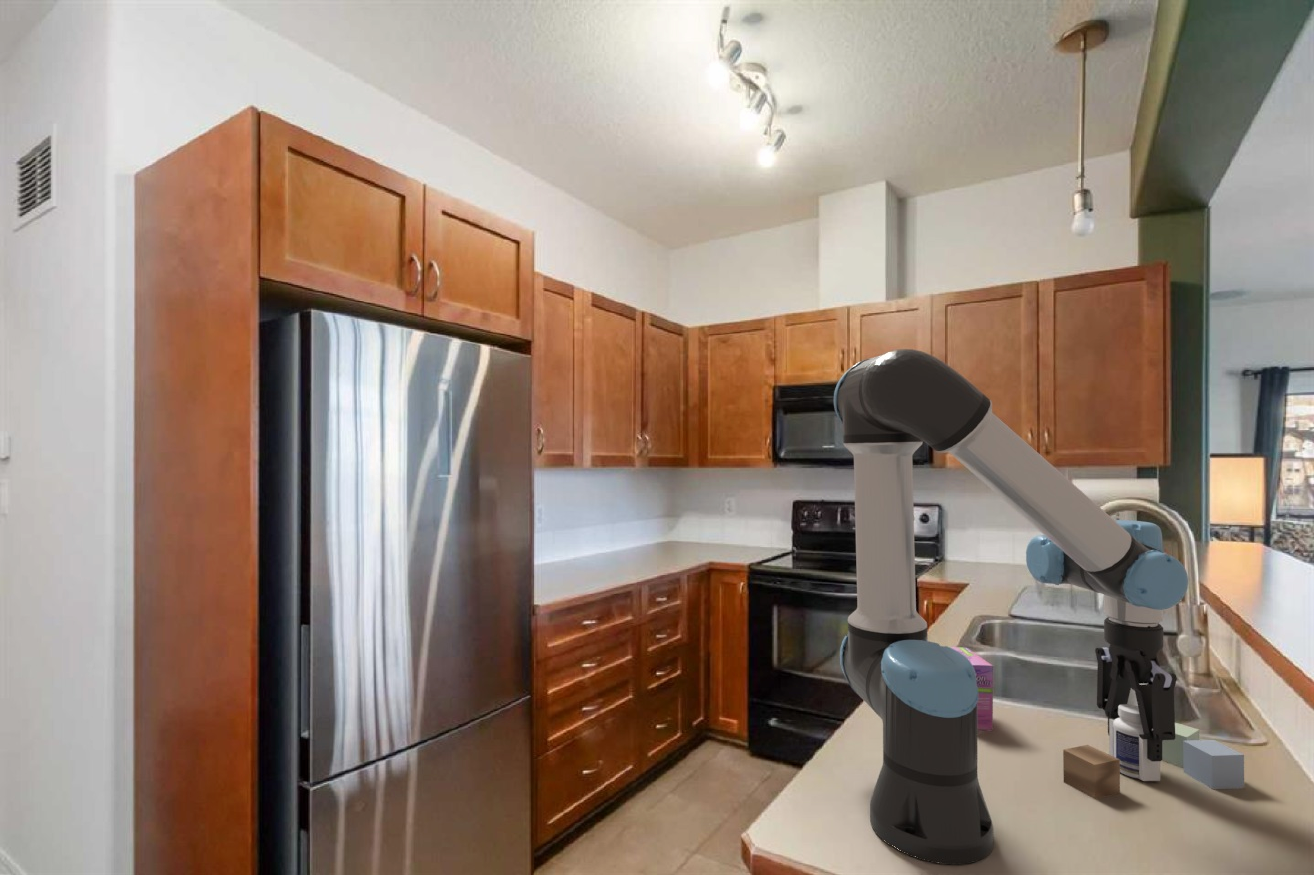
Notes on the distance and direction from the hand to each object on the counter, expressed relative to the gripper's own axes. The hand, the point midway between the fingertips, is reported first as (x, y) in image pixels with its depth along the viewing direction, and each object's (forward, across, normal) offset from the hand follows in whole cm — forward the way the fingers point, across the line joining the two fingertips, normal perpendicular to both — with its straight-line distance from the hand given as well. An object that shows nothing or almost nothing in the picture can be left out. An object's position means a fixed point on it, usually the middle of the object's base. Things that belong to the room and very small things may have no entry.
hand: (1134, 769), depth 103 cm
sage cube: (+1, +4, -10) cm, 11 cm away
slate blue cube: (+1, -3, -10) cm, 11 cm away
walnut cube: (+1, -4, +10) cm, 11 cm away
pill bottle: (+1, 0, 0) cm, 1 cm away
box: (+1, +21, +16) cm, 26 cm away
